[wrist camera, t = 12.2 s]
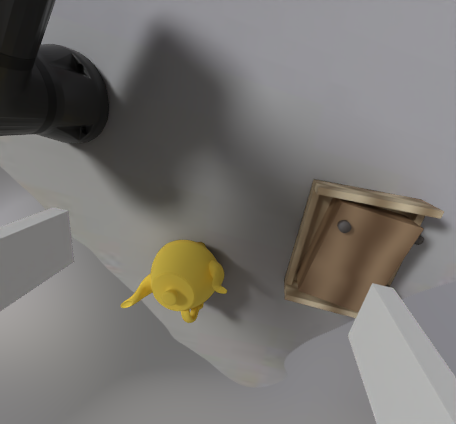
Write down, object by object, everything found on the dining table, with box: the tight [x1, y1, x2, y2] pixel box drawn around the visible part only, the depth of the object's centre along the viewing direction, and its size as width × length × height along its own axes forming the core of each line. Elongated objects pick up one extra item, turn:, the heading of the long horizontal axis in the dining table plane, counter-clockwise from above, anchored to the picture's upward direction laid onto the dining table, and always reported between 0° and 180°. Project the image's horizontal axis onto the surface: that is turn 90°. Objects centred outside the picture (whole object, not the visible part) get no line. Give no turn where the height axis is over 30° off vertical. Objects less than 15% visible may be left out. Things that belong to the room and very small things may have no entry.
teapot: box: [121, 240, 227, 323], centre depth 43 cm, size 20×15×12 cm
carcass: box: [284, 179, 444, 318], centre depth 38 cm, size 16×20×6 cm
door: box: [297, 197, 424, 313], centre depth 37 cm, size 11×16×6 cm
